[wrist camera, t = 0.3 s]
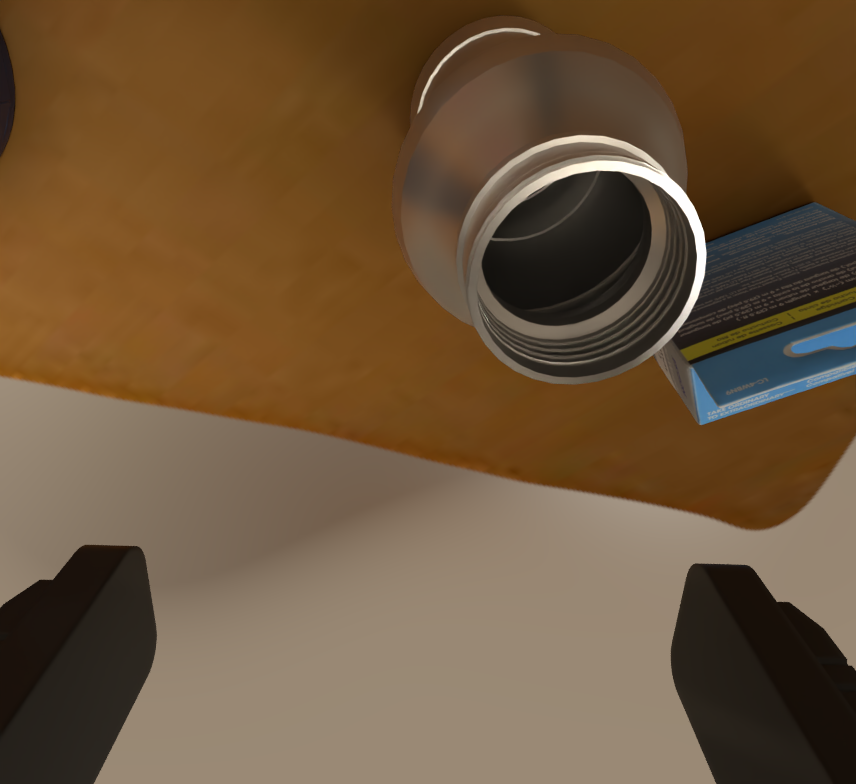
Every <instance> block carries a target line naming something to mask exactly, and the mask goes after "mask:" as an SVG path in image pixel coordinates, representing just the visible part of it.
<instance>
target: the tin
mask: <svg viewBox="0 0 856 784" xmlns="http://www.w3.org/2000/svg"><path fill="white" fill-rule="evenodd" d="M14 110H15V87H14V79H13V72H12V66H11V62H10V58H9V54H8V50H7V47H6V44H5V41H4V39H3V36H2V33H1V31H0V156H1V154H2V152H3V150H4V148H5V146H6V144H7V142H8V139H9V135H10V132H11V128H12V125H13V118H14Z"/></svg>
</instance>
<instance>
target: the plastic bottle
mask: <svg viewBox="0 0 856 784" xmlns="http://www.w3.org/2000/svg"><path fill="white" fill-rule="evenodd" d="M687 174H688V172H687V161H686V153H685V146H684V138H683V131H682V128H681V125H680V122H679V120H678V117H677V114H676V111H675V108H674V106H673V103H672V102H671V100H670V98H669V97H668V95H667V94H666V92H665V91H664V89H663V88H662V86H661V85H660V83H659V81H658V80H657V78H656V77H654V76H653V75H652V74H651V73H650V72H649V71H648V70H647V69H646V68H645V67H644V66H643V65H642V64H641V63H640V62H639V61H638V60H636V59H635V58H634V57H632V56H630V55H629V54H627V53H625V52H623V51H622V50H620V49H618V48H616V47H615V46H613V45H611V44H609V43H606V42H603V41H599V40H596V39H592V38H589V37H585V36H581V35H573V34H555V33H554V32H553V31H552V30H550V29H549V28H547V27H545V26H543V25H541V24H540V23H538V22H536V21H533V20H530V19H526V18H523V17H519V16H501V15H500V16H494V17H489V18H483V19H480V20H478V21H475V22H473V23H470V24H468V25H465V26H463V27H462V28H460V29H459V30H458V31H456V32H455V33H453V34H452V35H450V36H449V37H447V38H446V39H445V40H444V41H443V42H442V43H441V44H440V45H439V46H438V47H437V48H436V49H435V50H434V52H433V53H432V55H431V56H430V58H429V59H428V61H427V62H426V64H425V65H424V66H423V69H422V71H421V73H420V75H419V78H418V80H417V82H416V84H415V88H414V93H413V97H412V101H411V111H410V129H409V131H408V133H407V135H406V137H405V139H404V142H403V144H402V146H401V148H400V152H399V156H398V160H397V164H396V168H395V173H394V177H393V191H392V213H393V220H394V226H395V233H396V237H397V240H398V242H399V245H400V248H401V251H402V254H403V256H404V259H405V261H406V263H407V264H408V266H409V268H410V269H411V271H412V273H413V274H414V276H415V277H416V279H417V281H418V282H419V283H420V284H421V285H422V286H423V287H424V289H425V290H426V291H427V292H428V293H429V294H430V295H431V296H432V297H433V298H434V299H435V300H436V301H437V302H438V303H439V304H440V305H441V306H442V307H443V308H444V309H445V310H447V311H448V312H450V313H451V314H452V315H454V316H455V317H457V318H458V319H460V320H461V321H462V322H465V323H467V324H469V325H471V326H474V327H475V328H476V330H477V332H478V333H479V335H480V337H481V338H482V340H483V342H484V343H485V344H486V346H487V347H488V348H489V349H490V350H491V351H492V352H493V354H494V355H495V356H496V357H497V358H498V359H499V360H500V361H502V362H503V363H505V364H506V365H507V366H509V367H510V368H512V369H513V370H515V371H516V372H519V373H521V374H523V375H525V376H528V377H530V378H532V379H536V380H540V381H545V382H549V383H554V384H581V383H589V382H596V381H600V380H603V379H606V378H610V377H613V376H616V375H619V374H621V373H623V372H625V371H627V370H629V369H631V368H633V367H635V366H637V365H639V364H640V363H642V362H643V361H645V360H646V359H648V358H649V357H651V356H652V355H654V354H655V353H656V352H658V351H659V350H660V349H661V348H662V347H663V346H664V345H665V344H666V343H667V342H668V341H669V340H670V339H671V338H672V337H673V336H674V335H675V334H676V332H677V331H678V330H679V328H680V327H681V326H682V324H683V323H684V322H685V320H686V319H687V318H688V316H689V314H690V312H691V310H692V308H693V306H694V304H695V302H696V300H697V298H698V295H699V292H700V289H701V285H702V282H703V279H704V274H705V264H706V246H705V238H704V231H703V229H702V226H701V223H700V220H699V218H698V215H697V212H696V210H695V209H694V206H693V205H692V203H691V202H690V200H689V199H688V197H687V196H686V187H687Z"/></svg>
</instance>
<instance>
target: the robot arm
mask: <svg viewBox="0 0 856 784" xmlns="http://www.w3.org/2000/svg"><path fill="white" fill-rule="evenodd" d="M156 640H157V632H156V623H155V618H154V611H153V605H152V598H151V592H150V585H149V579H148V573H147V567H146V560H145V556H144V554H143V551H142V549H141V548H139V547H137V546H110V545H109V546H108V545H84V546H82V547H80V548H79V549H78V550H77V551H76V552H75V553H74V554H73V556H72V557H71V558H70V560H69V561H68V562H67V563H66V565H65V566H64V567H63V568H62V569H61V571H60V572H59V573H58V574H57V576H56V577H55V578H54V579H53V580H39V581H38V582H36V583H35V584H33V585H32V586H30V587H29V588H27V589H26V590H24V591H23V592H21V593H20V594H18V595H17V596H15V597H14V598H12V599H11V600H9V601H8V602H6V603H5V604H3V606H2V607H1V608H0V784H94V782H95V780H96V778H97V776H98V774H99V772H100V770H101V768H102V766H103V764H104V762H105V760H106V758H107V756H108V754H109V752H110V750H111V748H112V746H113V744H114V742H115V740H116V738H117V736H118V734H119V732H120V730H121V728H122V726H123V724H124V722H125V720H126V718H127V716H128V714H129V712H130V710H131V708H132V706H133V704H134V703H135V701H136V699H137V696H138V694H139V693H140V690H141V689H142V687H143V684H144V683H145V680H146V678H147V677H148V674H149V672H150V669H151V667H152V663H153V660H154V655H155V650H156ZM671 668H672V675H673V679H674V683H675V687H676V690H677V692H678V695H679V697H680V700H681V702H682V704H683V707H684V709H685V711H686V714H687V716H688V718H689V721H690V723H691V725H692V728H693V730H694V732H695V734H696V737H697V739H698V742H699V744H700V747H701V749H702V751H703V753H704V756H705V758H706V761H707V763H708V765H709V768H710V770H711V772H712V775H713V777H714V779H715V782H716V784H856V671H855V669H854V668H853V667H852V666H848V664H847V659H846V657H845V656H844V655H843V654H842V652H841V651H840V650H839V648H838V647H837V646H836V644H835V643H834V642H833V640H832V639H831V638H830V636H829V635H828V634H827V633H826V631H825V630H824V629H823V628H822V627H821V626H819V625H818V624H817V623H816V622H814V621H813V620H812V619H810V618H809V617H808V616H806V615H805V614H804V613H802V612H801V611H800V610H799V609H797V608H796V607H795V606H793V605H792V604H791V603H789V602H776V600H775V599H774V598H773V596H772V595H771V593H770V592H769V590H768V589H767V588H766V586H765V585H764V583H763V582H762V580H761V579H760V578H759V576H758V575H757V573H756V572H755V571H754V570H753V569H752V568H751V567H750V566H747V565H729V564H726V565H725V564H693V565H692V566H691V568H690V569H689V571H688V574H687V577H686V582H685V586H684V591H683V595H682V600H681V604H680V609H679V613H678V618H677V622H676V627H675V631H674V636H673V640H672V646H671Z"/></svg>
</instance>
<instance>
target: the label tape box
mask: <svg viewBox="0 0 856 784" xmlns="http://www.w3.org/2000/svg"><path fill="white" fill-rule="evenodd" d="M705 246H706V264H705V274H704V279H703V282H702V285H701V289H700V292H699V295H698V298H697V300H696V302H695V304H694V306H693V308H692V310H691V312H690V314H689V316H688V318H687V319H686V320H685V322H684V323H683V324H682V326H681V327H680V328H679V330H678V331H677V332H676V334H675V335H674V336H673V337H672V338H671V339H670V340H669V341H668V342H667V343H666V344H665V345H664V346H663V347H662V348H661V349H660V350H659V351H658V352H656V353H655V354H654V355H653V356H654V358H655V359H656V361H657V362H658V364H659V365H660V367H661V368H662V370H663V371H664V373H665V375H666V376H667V378H668V379H669V381H670V382H671V384H672V385H673V387H674V388H675V389H676V391H677V392H678V394H679V395H680V397H681V398H682V400H683V401H684V403H685V404H686V406H687V408H688V409H689V411H690V412H691V414H692V415H693V417H694V419H695V420H696V421H697V423H698V424H701V425H703V424H706V423H709V422H712V421H715V420H718V419H721V418H724V417H727V416H730V415H733V414H736V413H739V412H742V411H745V410H748V409H751V408H754V407H757V406H760V405H763V404H766V403H769V402H772V401H775V400H778V399H781V398H784V397H787V396H790V395H793V394H796V393H799V392H802V391H805V390H808V389H811V388H814V387H817V386H820V385H823V384H826V383H829V382H832V381H835V380H838V379H841V378H844V377H847V376H850V375H854V374H856V221H854V220H852V219H850V218H847V217H845V216H843V215H841V214H839V213H837V212H835V211H833V210H831V209H829V208H827V207H824V206H822V205H820V204H818V203H816V202H814V203H811V204H808V205H805V206H803V207H800V208H797V209H794V210H792V211H789V212H786V213H784V214H781V215H778V216H776V217H773V218H771V219H768V220H765V221H763V222H760V223H757V224H755V225H752V226H750V227H747V228H744V229H742V230H739V231H736V232H734V233H731V234H729V235H726V236H723V237H721V238H718V239H716V240H713V241H710V242H708V243H705Z"/></svg>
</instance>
